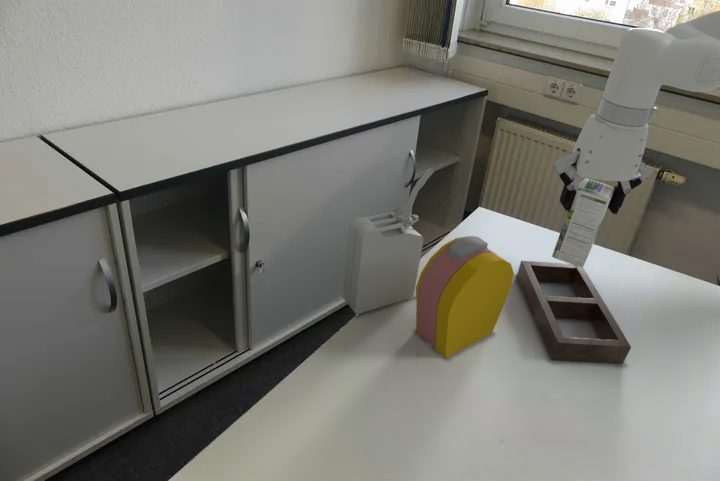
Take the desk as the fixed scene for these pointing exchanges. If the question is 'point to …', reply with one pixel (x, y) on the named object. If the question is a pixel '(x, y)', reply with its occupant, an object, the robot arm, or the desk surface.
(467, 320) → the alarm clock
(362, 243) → the fuel canister
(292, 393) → the desk surface
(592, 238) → the syrup box
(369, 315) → the desk surface
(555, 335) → the open brown box
